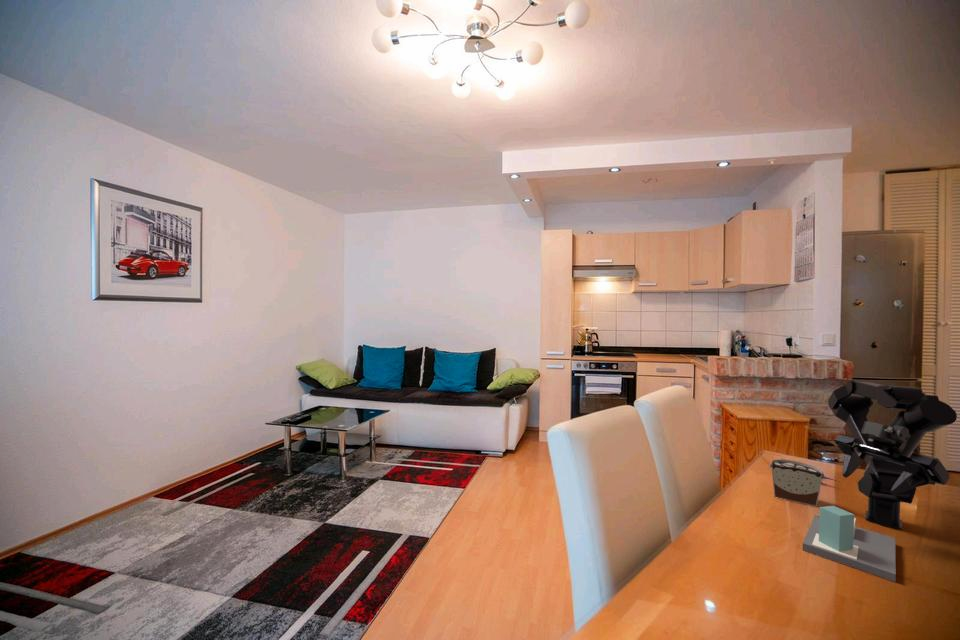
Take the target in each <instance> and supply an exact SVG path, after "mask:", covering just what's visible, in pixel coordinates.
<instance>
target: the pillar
mask: <svg viewBox="0 0 960 640" xmlns="http://www.w3.org/2000/svg"><path fill="white" fill-rule="evenodd" d="M818 514H819V515H818V516H819V542H821V543H823V544H825V545H827V546H829V547H831V548H833V549H835V550H837V551H847V550H853V537H854V518H855V514H854V513H852V512H849V511H847V510H845V509H842V508H840V507H837V506H835V505H828V506H819V513H818Z"/></svg>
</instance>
